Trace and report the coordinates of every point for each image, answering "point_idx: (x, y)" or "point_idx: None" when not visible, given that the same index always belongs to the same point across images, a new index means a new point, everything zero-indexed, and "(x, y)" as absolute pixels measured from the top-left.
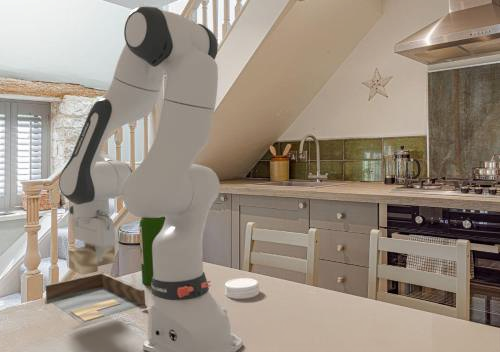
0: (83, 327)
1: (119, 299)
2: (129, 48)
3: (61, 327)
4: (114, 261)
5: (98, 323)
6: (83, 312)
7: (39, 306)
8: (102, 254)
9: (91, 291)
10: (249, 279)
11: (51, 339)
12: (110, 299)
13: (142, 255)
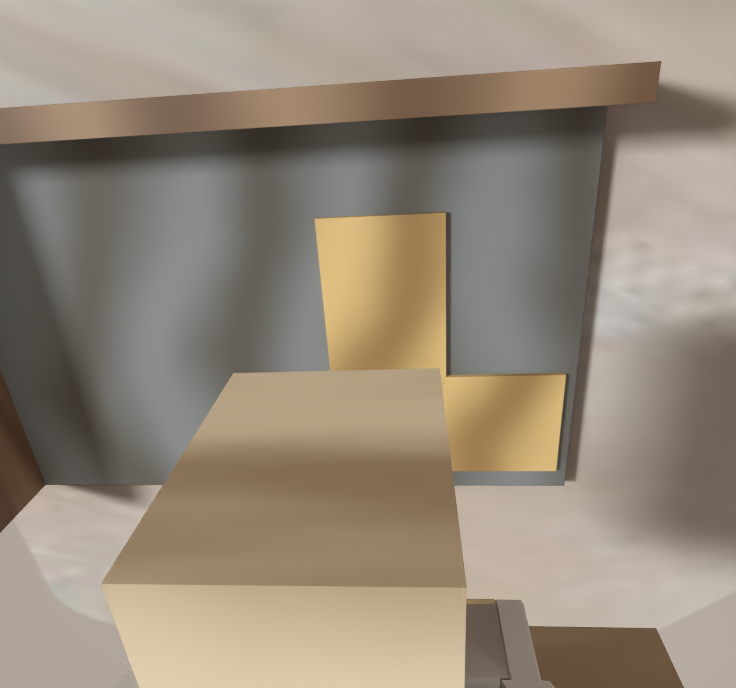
0: (592, 478)
1: (340, 177)
2: None
3: (500, 537)
4: (439, 386)
5: (609, 413)
6: None
7: (115, 520)
8: (549, 686)
9: (21, 258)
10: None
11: (602, 596)
12: (293, 226)
13: None
